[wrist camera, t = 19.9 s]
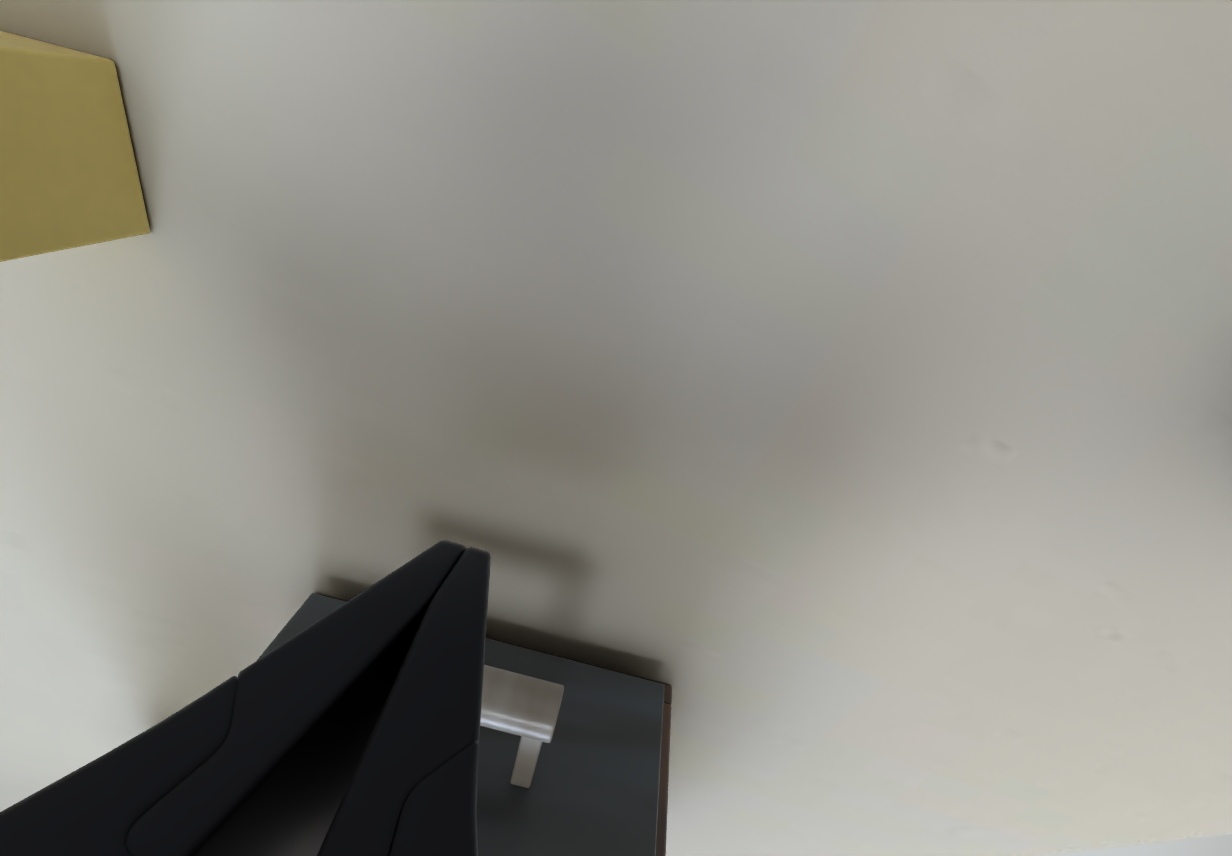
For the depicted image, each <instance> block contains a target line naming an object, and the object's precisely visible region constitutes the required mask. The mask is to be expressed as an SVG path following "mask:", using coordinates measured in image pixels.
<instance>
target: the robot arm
mask: <svg viewBox="0 0 1232 856" xmlns="http://www.w3.org/2000/svg"><path fill="white" fill-rule="evenodd" d="M490 559H491V555H490V553H489V552H487V551H483V550H480V549H476V548H472V547H469V548H467V549H466V547H465V546H464V545H461V544H457V543H454V542H450V541H446V540H444V541H440V542H438V543H437V544H435V545H434V546H432V547H431V548H429V549H428V550H426V551H425V552H423V553H422V554H420V555H419V556H417V557H415V558H414V559H412V560H411V561H409V562H408V563H406V564H405V565H403V566H402V567H400V568H399V569H397V570H396V571H394V572H392V573H391V574H389V575H388V576H386V577H385V578H383V579H382V580H380V581H379V582H377V583H376V584H374V585H373V586H371V587H369V588H368V589H366V590H365V591H363V592H362V593H360V594H359V595H357V596H356V597H354V598H353V599H351V600H350V601H348V602H346V603H345V604H343V605H342V606H340V607H339V608H337V609H336V610H334V611H333V612H331V613H330V614H328V615H327V616H325V617H323V618H322V619H320V620H319V621H317V622H316V623H314V624H313V625H311V626H310V627H308V628H307V629H305V630H304V631H302V632H300V633H299V634H297V635H296V636H294V637H293V638H291V639H290V640H288V641H287V642H285V643H284V644H282V645H281V646H279V647H277V648H276V649H274V650H273V651H271V652H270V653H268V654H267V655H265V656H264V657H262V658H261V659H259V660H258V661H256V662H254V663H253V664H251V665H250V666H248V667H247V668H245V669H244V670H242V671H241V672H240V673H239V675H238V677H236V676H233V677H231V678H230V679H228V680H226V681H225V682H223V683H222V684H220V685H219V686H217V687H216V688H214V689H213V690H211V691H210V692H208V693H207V694H205V695H203V696H202V697H200V698H199V699H197V700H195V701H194V702H192V703H191V704H189V705H187V706H186V707H184V708H183V709H181V710H179V711H178V712H176V713H175V714H173V715H171V716H170V717H168V718H167V719H165V720H163V721H162V722H160V723H159V724H157V725H155V726H153V727H152V728H150V729H148V730H146V731H145V732H143V733H141V734H139V735H138V736H136V737H134V738H132V739H131V740H129V741H127V742H126V743H124V744H122V745H120V746H119V747H117V748H115V749H113V750H112V751H110V752H108V753H106V754H105V755H103V756H101V757H99V758H97V759H96V760H94V761H92V762H90V763H88V764H87V765H85V766H83V767H81V768H79V769H78V770H76V771H74V772H72V773H70V774H69V775H67V776H65V777H63V778H61V779H59V780H58V781H56V782H54V783H52V784H50V785H49V786H47V787H45V788H43V789H41V790H40V791H38V792H36V793H34V794H32V795H31V796H29V797H27V798H25V799H23V800H22V801H20V802H18V803H16V804H14V805H12V806H11V807H9V808H7V809H5V810H3V811H2V812H0V856H478V842H477V815H476V813H477V776H478V758H479V737H480V721H481V705H482V689H483V673H484V656H485V640H486V624H487V608H488V592H489V576H490Z"/></svg>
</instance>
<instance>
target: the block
mask: <svg viewBox="0 0 1232 856" xmlns="http://www.w3.org/2000/svg"><path fill="white" fill-rule="evenodd" d="M148 233H150V228H149V223H148V218H147V213H146V209H145V204H144V199H143V195H142V190H141V185H140V180H139V176H138V171H137V166H136V161H135V157H134V152H133V147H132V143H131V138H130V133H129V128H128V124H127V119H126V114H125V109H124V105H123V100H122V95H121V91H120V86H119V81H118V76H117V72H116V67H115V64H114V62H113V61H111V60H110V59H107V58H103V57H99V56H95V55H92V54H88V53H84V52H80V51H76V50H73V49H69V48H65V47H61V46H57V45H54V44H50V43H46V42H42V41H38V40H35V39H31V38H27V37H23V36H19V35H15V34H12V33H8V32H4V31H0V262H1V261H7V260H12V259H17V258H22V257H28V256H33V255H38V254H43V253H48V252H54V251H59V250H64V249H69V248H74V247H80V246H85V245H90V244H95V243H101V242H106V241H111V240H116V239H121V238H127V237H132V236H137V235H142V234H148Z"/></svg>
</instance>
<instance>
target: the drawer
mask: <svg viewBox="0 0 1232 856" xmlns="http://www.w3.org/2000/svg"><path fill="white" fill-rule="evenodd" d="M345 603H346V601H342V600H338V599H334V598H330V597H326V596H323V595H319V594H315V593H312V594H311V595H310V596H309V598H308V599H307V600H306V601H305V602H304V604H303V605H302V606H301V607H300V609H299V610H298V611H297V612H296V613H295V615H294V616H293V617H292V618H291V620H290V621H289V622H288V623H287V624H286V626H285V627H284V628H283V629H282V631H281V632H280V633H279V634H278V635H277V637H276V638H275V639H274V640H273V641H272V643H271V644H270V645H269V646H268V648H267V649H266V650H265V651H264V652H263V654H262V655H261V656H260V657H259V659H261V658H262V657H264V656H265V655H267V654H268V653H270V652H271V651H273V650H274V649H276V648H277V647H279V646H281V645H282V644H284V643H285V642H287V641H288V640H290V639H291V638H293V637H294V636H296V635H297V634H299V633H300V632H302V631H304V630H305V629H307V628H308V627H310V626H311V625H313V624H314V623H316V622H317V621H319V620H320V619H322V618H323V617H325V616H327V615H328V614H330V613H331V612H333V611H334V610H336V609H337V608H339V607H340V606H342V605H343V604H345ZM259 659H258V660H259ZM258 660H257V661H258ZM663 702H664V684H661V683H657V682H653V681H649V680H646V679H642V678H638V677H634V676H630V675H626V674H623V673H619V672H615V671H611V670H607V669H603V668H599V667H596V666H592V665H588V664H584V663H580V662H576V661H573V660H569V659H565V658H561V657H557V656H553V655H549V654H546V653H542V652H538V651H534V650H530V649H526V648H523V647H519V646H515V645H511V644H507V643H503V642H499V641H496V640H492V639H488V638H486V640H485V656H484V673H483V689H482V705H481V721H480V737H479V758H478V776H477V813H476V815H477V842H478V856H655V855H656V835H657V816H658V797H659V778H660V759H661V740H662V721H663Z"/></svg>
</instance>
